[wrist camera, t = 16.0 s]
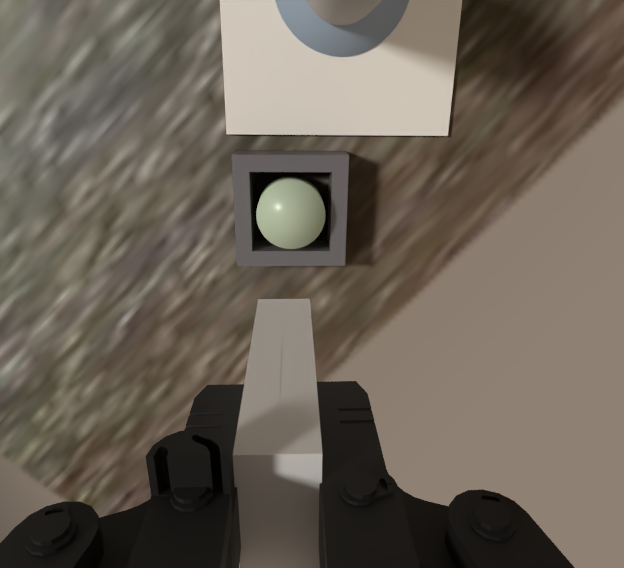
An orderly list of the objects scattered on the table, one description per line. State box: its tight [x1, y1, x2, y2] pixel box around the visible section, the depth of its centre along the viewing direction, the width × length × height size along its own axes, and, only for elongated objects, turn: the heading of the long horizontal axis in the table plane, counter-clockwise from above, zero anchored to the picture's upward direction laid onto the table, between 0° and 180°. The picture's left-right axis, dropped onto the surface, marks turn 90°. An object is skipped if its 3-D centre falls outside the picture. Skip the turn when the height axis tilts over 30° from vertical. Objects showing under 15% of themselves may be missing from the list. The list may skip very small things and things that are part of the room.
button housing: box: [232, 150, 349, 266], centre depth 32 cm, size 7×7×2 cm
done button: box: [256, 176, 325, 249], centre depth 31 cm, size 4×4×2 cm
